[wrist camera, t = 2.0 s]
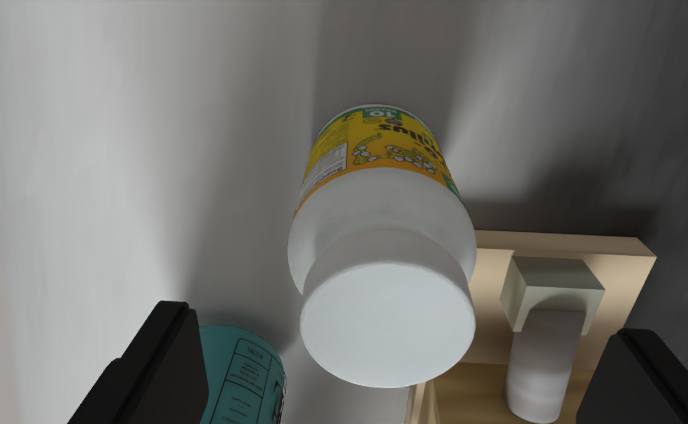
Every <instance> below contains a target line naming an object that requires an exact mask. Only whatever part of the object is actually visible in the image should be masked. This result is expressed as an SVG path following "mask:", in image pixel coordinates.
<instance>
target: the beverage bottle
mask: <svg viewBox="0 0 688 424" xmlns="http://www.w3.org/2000/svg"><path fill="white" fill-rule="evenodd" d="M199 332H200V338H201V344H202V350H203V356H204V362H205V368H206V374H207V380H208V386H209V398H208V403H207V406H206V409H205V411H204V414H203V416H202V419H201V421H200V424H278V422H279V424H280V420H281V414H282V412H281V414H280V410H281V405H284V401H283V403H282V399H283V398H284V396H283V386H284V385H285V384H284V374H285V373H284V370H283V365H282V362H281V359H280V357H279V355H278V354H277V352H276V351H275V350H274V349H273V347H272V346H270V345H269V344H268V343H267V342H266V341H264V340H263V339H261V338H260V337H258V336H257V335H255V334H253V333H251V332H248V331H245V330H243V329H239V328H235V327H230V326H221V325H213V326H205V327H200V328H199ZM285 378H286V376H285ZM284 387H285V386H284ZM286 387H287V381H286ZM284 389H285V388H284ZM285 393H286V389H285ZM282 410H283V408H282ZM279 416H280V419H279Z"/></svg>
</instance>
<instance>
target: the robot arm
mask: <svg viewBox="0 0 688 424" xmlns="http://www.w3.org/2000/svg"><path fill="white" fill-rule="evenodd" d="M208 398H209V386H208V380H207V374H206V368H205V362H204V356H203V350H202V344H201V338H200V332H199V326H198V319H197V314H196V311H195V309H189V305H188V304H187V302H176V301H160V302H158V304H157V305H156V306H155V308H154V309H153V311H152V312H151V313H150V315H149V316H148V318H147V319H146V321H145V322H144V324H143V325H142V327H141V328H140V330H139V331H138V333H137V334H136V336H135V337H134V339H133V340H132V342H131V343H130V345H129V346H128V348H127V349H126V351H125V352H124V354H123V355H122V357H121V358H116V359H115V360H113V361H112V362H111V363H110V364H109V365H108V366H107V367H106V368H105V370H104V371H103V373H102V374H101V376H100V377H99V379H98V380H97V381H96V383H95V384H94V386H93V387H92V389H91V390H90V391H89V393H88V394H87V396H86V397H85V399H84V400H83V402H82V403H81V404H80V406H79V407H78V409H77V410H76V412H75V413H74V414H73V416H72V417H71V419H70V420H69V422H68V423H67V424H200V421H201V419H202V416H203V414H204V411H205V409H206V406H207V403H208ZM576 424H688V371H687V369H686V368H685V367H684V366H683V365H682V364H681V362H680V361H679V360H678V359H677V358H676V356H675V355H674V354H673V353H672V352H671V350H670V349H669V348H668V347H667V346H666V345H665V343H664V342H663V341H662V340H661V339H660V337H659V336H658V335H657V334H656V333H655V332H654V331H651V330H646V329H629V328H621V329H620V330H618V331H617V333H616V334H613V335H611V336H610V338H609V339H608V342H607V344H606V346H605V349H604V351H603V353H602V355H601V358H600V360H599V362H598V365H597V367H596V369H595V372H594V374H593V376H592V379H591V381H590V383H589V385H588V388H587V390H586V392H585V395H584V397H583V399H582V402H581V404H580V406H579V409H578V411H577V414H576Z"/></svg>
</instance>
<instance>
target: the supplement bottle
mask: <svg viewBox="0 0 688 424" xmlns="http://www.w3.org/2000/svg"><path fill="white" fill-rule="evenodd" d="M476 256H477V243H476V236H475V232H474V228H473V225H472V222H471V219H470V217H469V214H468V212H467V210H466V208H465V205H464V203H463V201H462V199H461V197H460V194H459V192H458V190H457V188H456V185H455V183H454V181H453V179H452V177H451V174H450V172H449V170H448V167H447V165H446V163H445V161H444V158H443V156H442V154H441V151H440V149H439V147H438V144H437V142H436V140H435V138H434V136H433V135H432V133H431V131H430V130H429V129H428V128H427V126H426V125H425V124H424V123H423V122H422V121H421V120H420V119H419V118H417V117H416V116H415V115H413V114H412V113H410V112H408V111H406V110H404V109H401V108H399V107H395V106H389V105H379V104H366V105H360V106H355V107H352V108H349V109H347V110H345V111H343V112H341V113H340V114H338V115H336V116H335V117H334V118H333V119H331V120H330V121H329V122H328V123H327V124H326V125H325V126H324V128H323V129H322V130H321V132H320V133H319V135H318V136H317V138H316V140H315V142H314V144H313V147H312V150H311V153H310V156H309V160H308V164H307V167H306V172H305V176H304V179H303V183H302V187H301V190H300V194H299V198H298V202H297V205H296V209H295V213H294V216H293V220H292V224H291V228H290V232H289V238H288V245H287V257H288V264H289V269H290V273H291V276H292V278H293V281H294V283H295V285H296V287H297V289H298V290H299V292H300V293H301V295H302V296H303V299H302V305H301V312H300V332H301V336H302V340H303V342H304V345H305V347H306V349H307V350H308V352H309V353H310V355H311V356H312V357H313V358H314V359H315V361H316V362H317V363H318V364H319V365H321V366H322V367H323V368H324V369H325V370H327V371H328V372H330V373H332V374H333V375H335V376H337V377H339V378H340V379H343V380H346V381H348V382H351V383H354V384H358V385H362V386H368V387H376V388H399V387H405V386H410V385H415V384H418V383H422V382H425V381H428V380H430V379H433V378H435V377H437V376H439V375H441V374H442V373H444V372H446V371H447V370H449V369H450V368H451V367H453V366H454V365H455V364H456V363H457V362H458V361H459V360H460V359H461V358H462V357H463V355H464V354H465V353H466V351H467V350H468V348H469V347H470V345H471V343H472V340H473V338H474V333H475V328H476V316H475V309H474V304H473V301H472V298H471V294H470V291H469V287H468V284H469V282H470V280H471V277H472V275H473V272H474V268H475V264H476Z"/></svg>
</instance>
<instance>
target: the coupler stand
mask: <svg viewBox="0 0 688 424" xmlns="http://www.w3.org/2000/svg"><path fill="white" fill-rule="evenodd" d="M474 232H475V236H476V243H477V256H476V264H475V268H474V272H473V275H472V277H471V280H470V282H469V284H468V287H469V291H470V294H471V298H472V301H473V304H474V309H475V316H476V328H475V333H474V338H473V340H472V343H471V345H470V347H469V348H468V350H467V351H466V353H465V354H464V355H463V357H462V358H461V359H460V360H459V361H458V362H457V363H456V364H455V365H454V366H453V367H451V368H450V369H449V370H447V371H446V372H444V373H442V374H441V375H439V376H437V377H435V378H433V379H430V380H428V381H425V382H422V383H418V384H415V385H411V386H410V392H409V398H408V404H407V410H406V416H405V423H404V424H576V414H577V411H578V409H579V406H580V404H581V402H582V399H583V397H584V395H585V392H586V390H587V388H588V385H589V383H590V381H591V379H592V376H593V374H594V372H595V369H596V367H597V365H598V362H599V360H600V358H601V355H602V353H603V351H604V349H605V346H606V344H607V342H608V339H609V338H610V336H611V335H613V334H616V333H617V331H618V330H620V329H621V328H623V326H624V324H625V322H626V320H627V317H628V315H629V313H630V311H631V309H632V307H633V305H634V303H635V301H636V299H637V297H638V295H639V293H640V291H641V289H642V286H643V284H644V282H645V280H646V278H647V276H648V274H649V272H650V270H651V268H652V266H653V264H654V262H655V260H656V258H657V257H656V256H655V255H654V254H653V253H652V252H651V251H650V250H649V249H648V248H647V247H646V246H645V245H644V244H643V243H642V242H641V241H640V240H639V239H638V238H635V237H614V236H593V235H572V234H551V233H530V232H510V231H489V230H474Z"/></svg>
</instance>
